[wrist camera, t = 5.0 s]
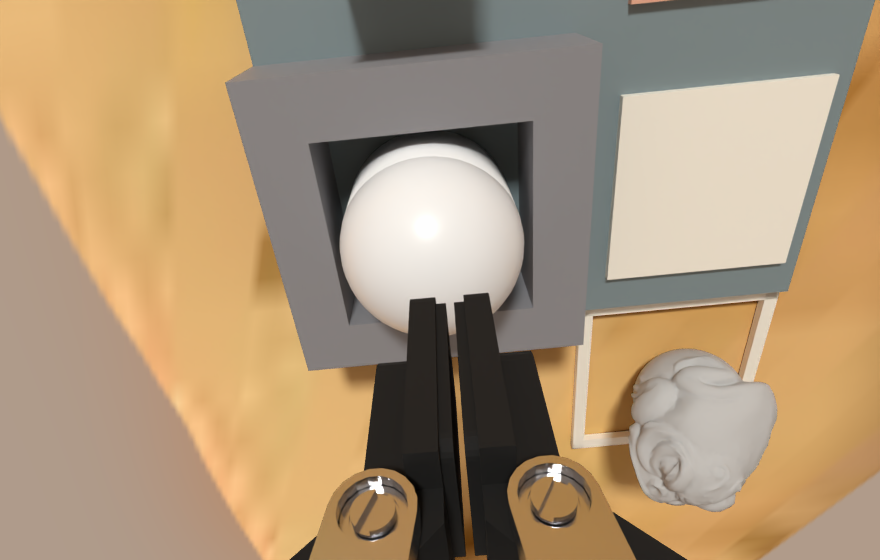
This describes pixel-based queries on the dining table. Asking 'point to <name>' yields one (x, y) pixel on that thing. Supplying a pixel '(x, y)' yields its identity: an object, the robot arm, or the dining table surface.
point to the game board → (555, 150)
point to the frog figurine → (697, 429)
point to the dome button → (430, 227)
